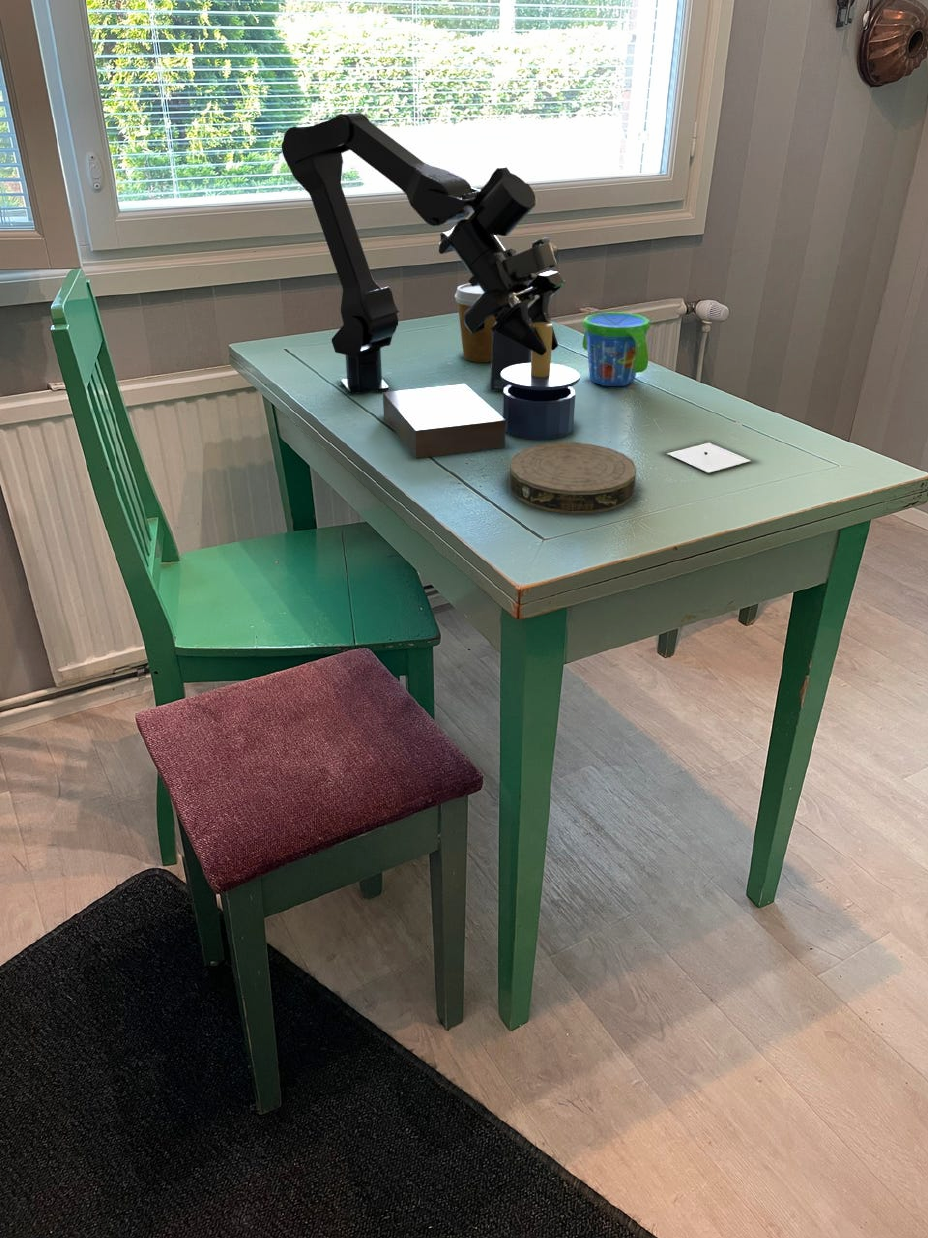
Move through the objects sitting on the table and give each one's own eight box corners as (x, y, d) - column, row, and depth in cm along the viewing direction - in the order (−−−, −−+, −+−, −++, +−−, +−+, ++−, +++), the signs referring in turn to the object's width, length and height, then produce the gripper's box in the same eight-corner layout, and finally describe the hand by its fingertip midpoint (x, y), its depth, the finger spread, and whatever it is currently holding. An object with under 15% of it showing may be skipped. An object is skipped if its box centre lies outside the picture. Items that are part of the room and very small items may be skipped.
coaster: (751, 460, 127) (752, 455, 127) (708, 472, 123) (709, 467, 123) (708, 442, 133) (709, 437, 132) (666, 453, 129) (667, 448, 129)
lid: (489, 373, 137) (490, 317, 133) (559, 366, 141) (563, 311, 136) (518, 397, 128) (520, 338, 124) (592, 389, 132) (597, 331, 127)
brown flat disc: (653, 507, 114) (656, 485, 113) (527, 519, 111) (528, 495, 110) (609, 459, 128) (611, 438, 126) (495, 468, 125) (496, 446, 123)
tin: (492, 419, 141) (493, 383, 138) (555, 412, 144) (557, 377, 141) (518, 443, 132) (519, 405, 130) (584, 435, 135) (587, 398, 133)
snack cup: (563, 370, 162) (566, 310, 156) (617, 365, 165) (622, 305, 160) (604, 398, 149) (610, 334, 144) (662, 391, 152) (670, 328, 147)
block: (383, 418, 141) (382, 392, 139) (465, 409, 145) (465, 383, 143) (416, 458, 127) (415, 430, 125) (505, 447, 131) (505, 419, 129)
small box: (529, 394, 151) (531, 328, 145) (489, 391, 152) (490, 326, 146) (537, 375, 160) (540, 312, 154) (500, 372, 161) (501, 310, 155)
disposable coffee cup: (517, 354, 170) (519, 286, 164) (490, 367, 163) (491, 296, 157) (472, 346, 174) (473, 279, 168) (444, 359, 167) (444, 289, 161)
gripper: (483, 228, 119) (554, 330, 119) (556, 210, 132) (620, 301, 132) (434, 284, 126) (500, 379, 127) (507, 262, 140) (567, 348, 140)
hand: (549, 350), depth 131 cm, fingers closed on lid, 3 cm apart
